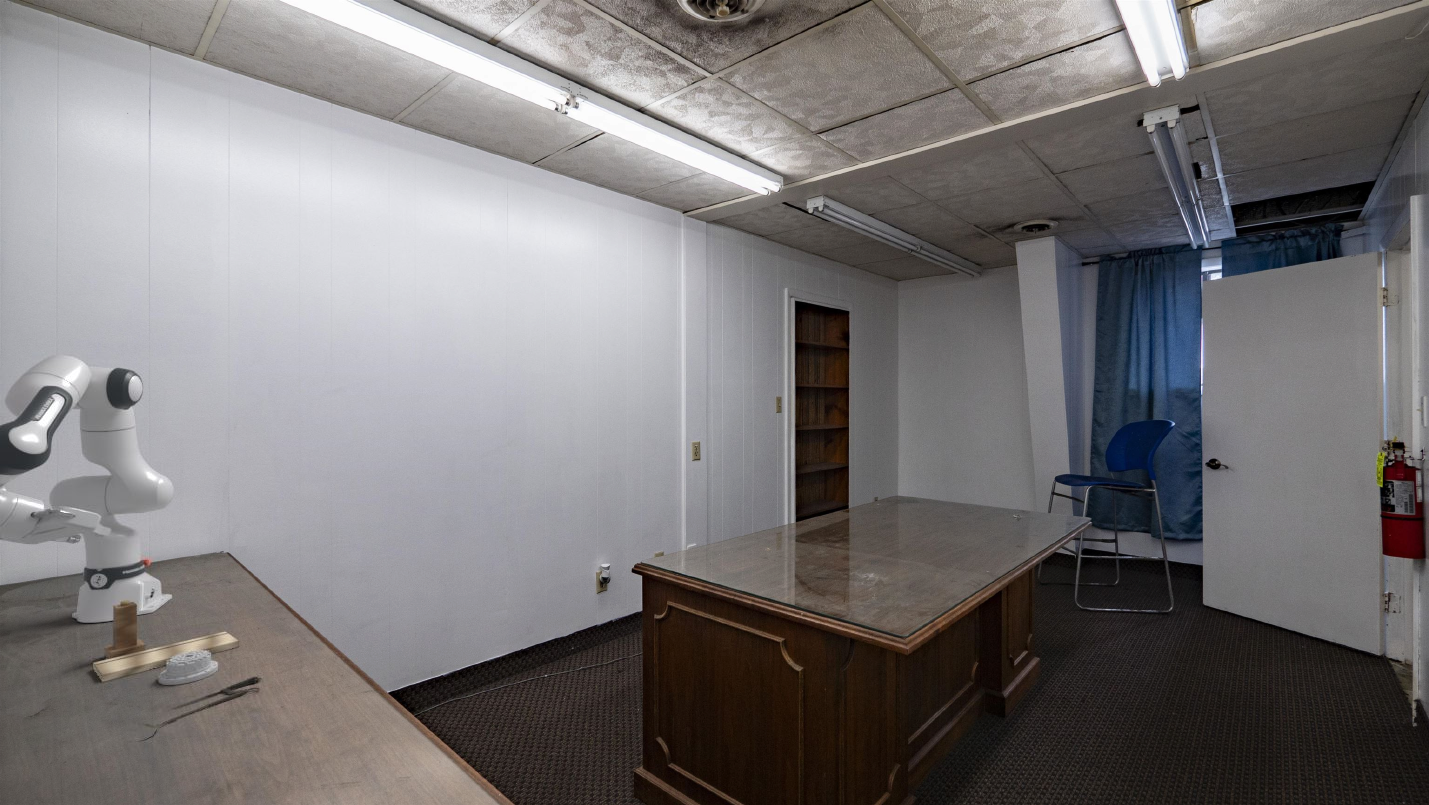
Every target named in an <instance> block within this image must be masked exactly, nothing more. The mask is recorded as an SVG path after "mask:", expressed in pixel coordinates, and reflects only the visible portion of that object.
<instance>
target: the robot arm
mask: <svg viewBox="0 0 1429 805" xmlns="http://www.w3.org/2000/svg"><path fill="white" fill-rule="evenodd" d="M143 393H144V384H143V380H142V378H141V376H140V375H139V374H138V373H137V372H135V370H131V369H129V368H128V369H127V368H121V367H115V368H112V367H106V366H105V367H104V366H91V365H88V364H86V363H85V362H84V361H82V360H81V359H79V358H77V357H75V356H71V355H66V354H65V355H64V354H57V355H52V356H48V357H46V358H44V359H43V360H41V361H39V362H38V363H36V364H34V365H33V366H31V367H30V368H29V369H28V370H26V371H25V372H24V373H23V374H22V375H21V376H20V377H19V378H18V379H17V380H16V381H15V382H14V383H13V385H12V386H11V387H10V388H9V390H8V391H7V394H6V396H5V398H4V403H5V405H6V408H7V409H8V410H9V412H11V414H13V415H14V416H15V417H16V418H15V419H14V420H12V421H10V422H6V423H4V424H1V425H0V540H1V541H5V542H11V543H16V544H23V545H39V544H42V543H48V542H56V543H58V542H59V543H60V542H61V543H67V544H76V543H79V542H80V541H81V539H82V538H83V540H84V548H85V567H84V568H83V573H82V575H83V581H84V583H83V584H82V585H81V586H80V587H79V589H78V590H79V591H78V599H77V608H76V612H73V613H72V614H71V618H73V619H76V621H77V622H80V623H83V624H84V623H85V624H87V623H93V624H94V623H103V622H111V621H112V622H113V605H119V604H120V603H121V602H122V601H130V602H134V603H136V604H137V616H140V615H145V614H151V613H154V612H155V611H156V610H158V609H159V608H161V607H162V606H163V605H165V604H166V603H168V601H170V600H171V599H173V594H169V593H162V582H161V581H160V579H158V578H156V577H154V576H152V575H151V574H149V573H147V571H146V568H145V567H146V566H147V567H149V566H150V565H151V563H152V561H151V559H150V558H142V546H141V545H142V537H141V535H140V533H139V532H138V530H136V529H134V528H132V527H131V526H130V527H129V526H126V525H124V524H122V523H120V522H119V521H118V520H117V519H116V516H115V515H126V514H127V515H128V514H129V515H130V514H144V513H149V512H150V513H151V512H155V511H159V510H164V509H165V508H167V507H168V506H169V504H171V502H172V501H173V498H174V495H175V488H174V484H173V483H172V481H171V479H169V478H168V477H167V476H165V475H163V474H162V473H159V472H158V471H156V470H155V469H153V468H152V467H151V466H150V465H149V464H148V463H147V461H146V460H145V459H144V457H143V456H142V453H141V451H140V447H139V442H138V436H137V435H138V434H137V424H136V417H135V412H134V407H133V406H135V405H136V404H137V403H138V402H140V400H141V399H142V397H143ZM72 410H79V432H80V441H81V442H80V443H81V453H82V455H83V457H84V458H85V459H86V460H87V461H89V463H92V464H95V465H98V466H101V467H103V468H104V469H106V470H107V471H108V472H109V473H110V475H107V474H106V475H104V474H103V475H85V476H84V475H83V476H76V477H71V478H65V479H62V480H59V482H57V483H56V484H55V485H54V486H53V488H52V489H51V490H50V493H49V499H48V500H49V504H50V508H48V507H47V508H46V507H45V503H44V501H43V500H41V499H39V498H35V497H31V496H27V495H23V494H21V493H16V492H13V491H8V490H7V489H6V487H7V486H6V485H7V483H9V482H11V481H12V480H15V479H16V478H17V477H20V476H21V475H23V474H25V473H28V472H31V471H32V470H34V469H36V468H38V467H41V466H42V465H44V464H45V463H46V462H48V460H49V458H50V456H51V452H52V442H53V437H54V434H55V432H56V431H57V429H58V428H59V427H60V425H61V424H62V422H63V421H64V419H65V418H66V416H67V415H68V414H69V413H70V412H71V411H72Z"/></svg>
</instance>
